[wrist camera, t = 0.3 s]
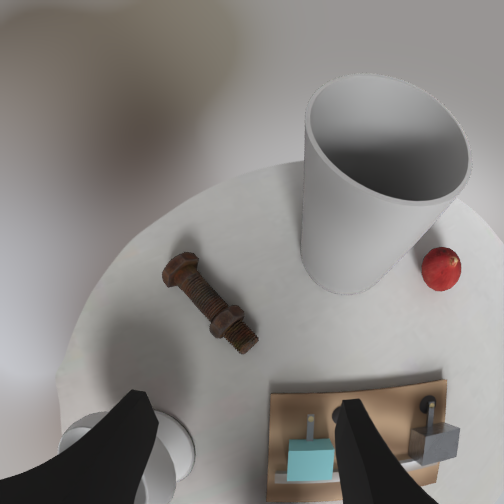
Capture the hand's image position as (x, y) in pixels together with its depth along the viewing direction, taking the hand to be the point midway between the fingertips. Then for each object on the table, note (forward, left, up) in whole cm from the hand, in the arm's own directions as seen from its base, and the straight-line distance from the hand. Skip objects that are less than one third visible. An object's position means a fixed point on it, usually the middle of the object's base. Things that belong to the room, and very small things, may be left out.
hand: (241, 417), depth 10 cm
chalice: (-12, +17, -29) cm, 36 cm away
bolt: (+9, +9, -29) cm, 32 cm away
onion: (+13, -22, -29) cm, 38 cm away
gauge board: (-10, -11, -29) cm, 32 cm away
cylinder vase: (+17, -9, -29) cm, 34 cm away
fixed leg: (-9, -20, -27) cm, 35 cm away
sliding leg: (-9, -4, -27) cm, 28 cm away
